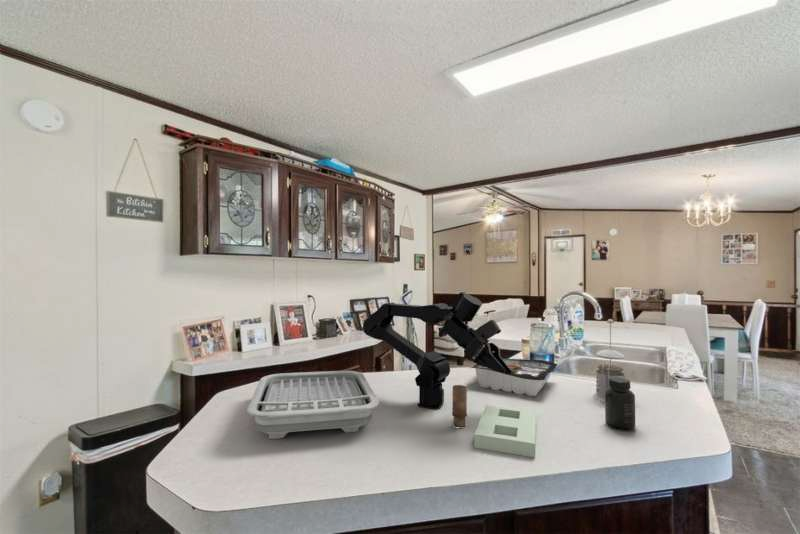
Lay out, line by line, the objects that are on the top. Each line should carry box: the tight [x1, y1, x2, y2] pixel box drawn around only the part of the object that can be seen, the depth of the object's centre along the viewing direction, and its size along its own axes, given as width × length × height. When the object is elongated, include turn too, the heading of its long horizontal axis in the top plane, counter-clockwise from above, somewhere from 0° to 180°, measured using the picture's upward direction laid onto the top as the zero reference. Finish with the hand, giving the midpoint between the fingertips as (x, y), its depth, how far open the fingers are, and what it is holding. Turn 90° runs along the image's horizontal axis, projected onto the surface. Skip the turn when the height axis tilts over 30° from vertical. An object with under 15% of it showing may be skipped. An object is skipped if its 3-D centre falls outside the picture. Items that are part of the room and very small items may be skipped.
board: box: [473, 404, 537, 458], centre depth 93 cm, size 20×13×3 cm, turn 160°
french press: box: [592, 318, 626, 403], centre depth 119 cm, size 10×12×25 cm
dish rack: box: [246, 370, 380, 440], centre depth 105 cm, size 32×37×8 cm
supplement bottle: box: [604, 378, 636, 432], centre depth 99 cm, size 7×7×12 cm
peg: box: [451, 384, 468, 429], centre depth 98 cm, size 4×4×10 cm
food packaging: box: [469, 357, 558, 397], centre depth 133 cm, size 25×8×23 cm
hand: (507, 372), depth 99 cm, fingers open, 9 cm apart
